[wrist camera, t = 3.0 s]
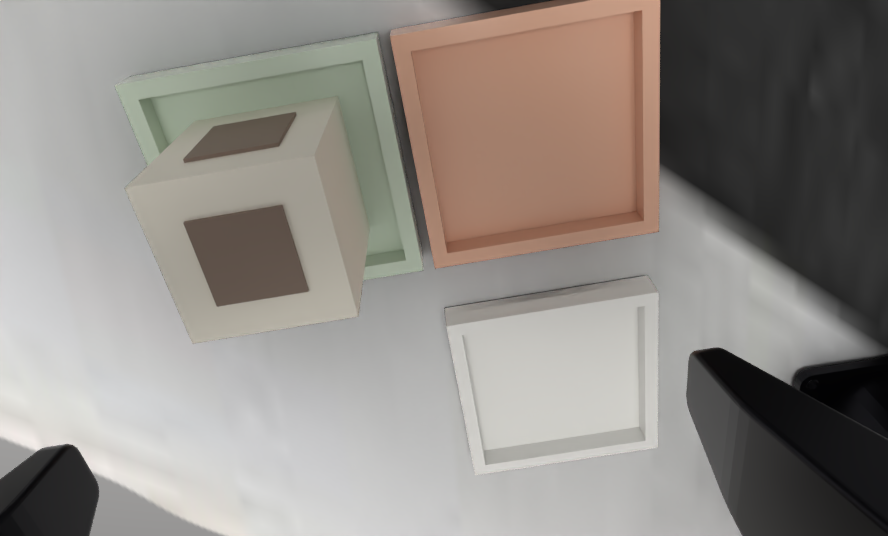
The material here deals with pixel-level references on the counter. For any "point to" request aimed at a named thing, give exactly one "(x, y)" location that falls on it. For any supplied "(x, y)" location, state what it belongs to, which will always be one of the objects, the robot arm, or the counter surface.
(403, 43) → the tray terracotta
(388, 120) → the tray sage
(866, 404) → the robot arm
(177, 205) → the letter block
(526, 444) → the tray grey
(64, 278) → the counter surface
